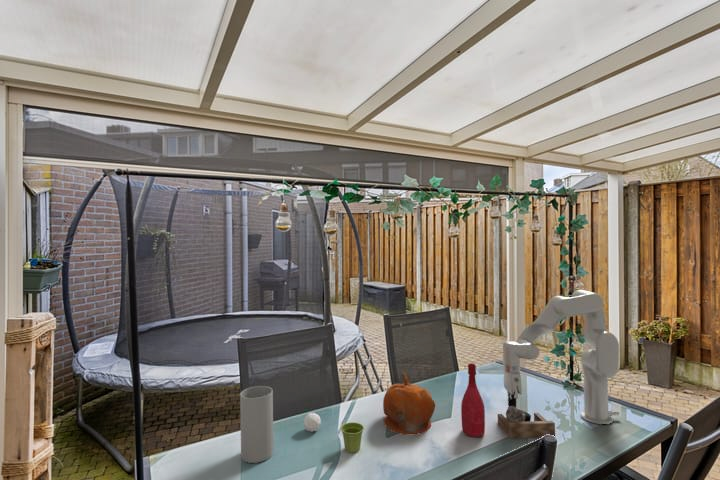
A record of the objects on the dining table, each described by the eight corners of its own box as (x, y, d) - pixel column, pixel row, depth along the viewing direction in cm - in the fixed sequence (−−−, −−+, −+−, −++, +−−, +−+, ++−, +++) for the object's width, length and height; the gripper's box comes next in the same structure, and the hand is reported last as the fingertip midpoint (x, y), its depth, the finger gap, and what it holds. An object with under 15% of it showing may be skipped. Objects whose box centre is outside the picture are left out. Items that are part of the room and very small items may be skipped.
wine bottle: (469, 439, 155) (468, 368, 156) (457, 428, 165) (455, 361, 165) (489, 436, 158) (488, 366, 158) (476, 425, 167) (475, 359, 168)
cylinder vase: (235, 455, 147) (234, 392, 147) (263, 443, 156) (262, 383, 156) (250, 468, 138) (249, 401, 138) (279, 454, 147) (278, 391, 147)
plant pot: (351, 440, 156) (351, 420, 157) (368, 447, 150) (368, 426, 151) (336, 450, 149) (335, 428, 149) (354, 458, 143) (353, 435, 143)
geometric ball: (308, 436, 166) (301, 418, 169) (324, 427, 168) (316, 410, 172) (307, 435, 159) (299, 417, 163) (323, 426, 162) (316, 408, 165)
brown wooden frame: (538, 421, 170) (538, 408, 170) (555, 437, 156) (554, 422, 156) (497, 422, 170) (497, 409, 170) (510, 438, 156) (510, 424, 156)
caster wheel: (527, 422, 174) (532, 429, 165) (502, 415, 177) (505, 421, 167) (529, 408, 175) (534, 414, 165) (504, 401, 178) (508, 406, 168)
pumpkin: (395, 407, 188) (394, 363, 188) (442, 419, 174) (441, 371, 174) (372, 425, 169) (371, 376, 169) (423, 440, 155) (422, 387, 156)
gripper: (526, 373, 168) (527, 413, 168) (512, 362, 183) (513, 400, 182) (510, 373, 168) (511, 414, 167) (497, 363, 183) (498, 400, 182)
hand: (512, 406), depth 175 cm, fingers closed
